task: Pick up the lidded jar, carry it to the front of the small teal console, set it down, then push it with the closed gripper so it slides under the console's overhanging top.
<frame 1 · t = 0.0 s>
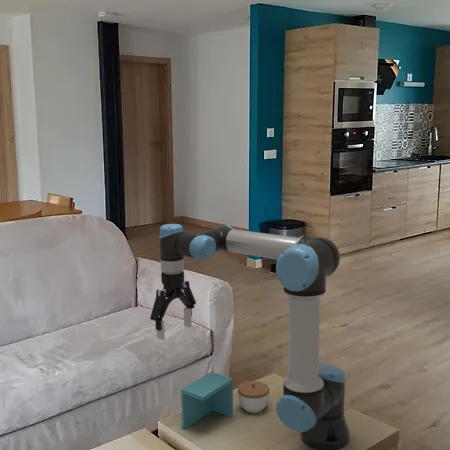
hand: (174, 332, 199), 28 cm above the table, fingers open, 13 cm apart
console: (208, 422, 195), on the table
lidded jar: (253, 409, 204), on the table
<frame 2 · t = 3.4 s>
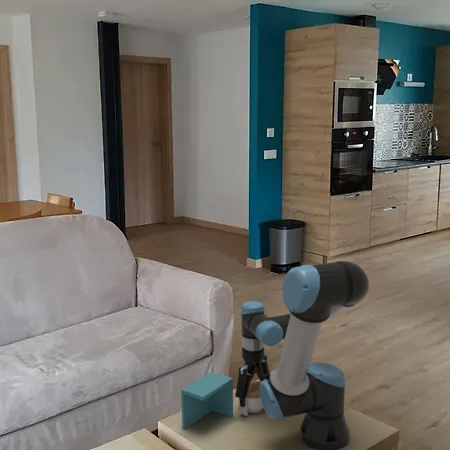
hand: (253, 407, 204), 0 cm above the table, fingers closed on lidded jar, 11 cm apart
lidded jar: (253, 409, 204), on the table, touching gripper
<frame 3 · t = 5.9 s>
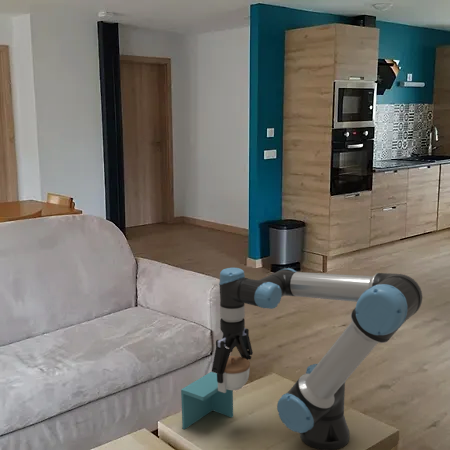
hand: (233, 384, 187), 16 cm above the table, fingers closed on lidded jar, 11 cm apart
lidded jar: (233, 386, 187), point 15 cm above the table, touching gripper
when the fingers open (1 cm above the table, at t = 8.2 s): lidded jar stays where it is, on the table.
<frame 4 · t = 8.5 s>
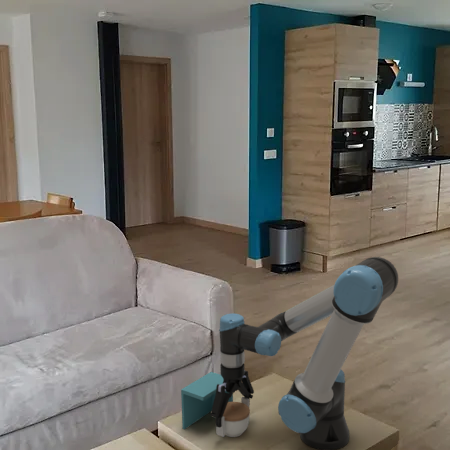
hand: (233, 425, 189), 2 cm above the table, fingers open, 13 cm apart
lidded jar: (233, 432, 190), on the table
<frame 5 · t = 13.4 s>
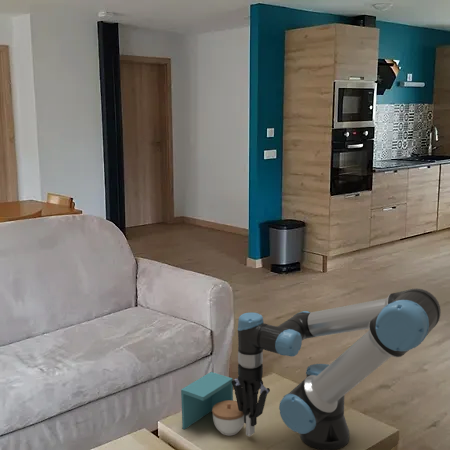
hand: (250, 433, 185), 2 cm above the table, fingers closed
lidded jar: (229, 431, 190), on the table, touching gripper
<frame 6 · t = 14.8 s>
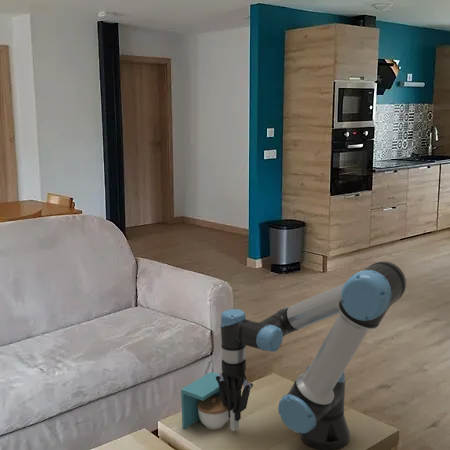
hand: (234, 428, 189), 1 cm above the table, fingers closed
lidded jar: (214, 425, 194), on the table, touching gripper
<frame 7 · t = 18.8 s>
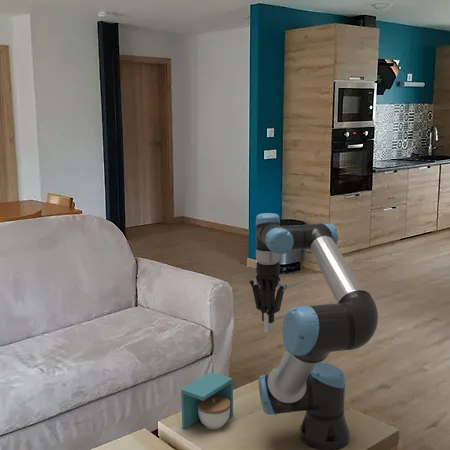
hand: (268, 331, 195), 29 cm above the table, fingers closed
lidded jar: (214, 425, 194), on the table
at the end: lidded jar inside the target area on the console (1.9 cm from its centre), point 0.0 cm above the console's base; lidded jar tilted 0°; the gripper is holding nothing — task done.
